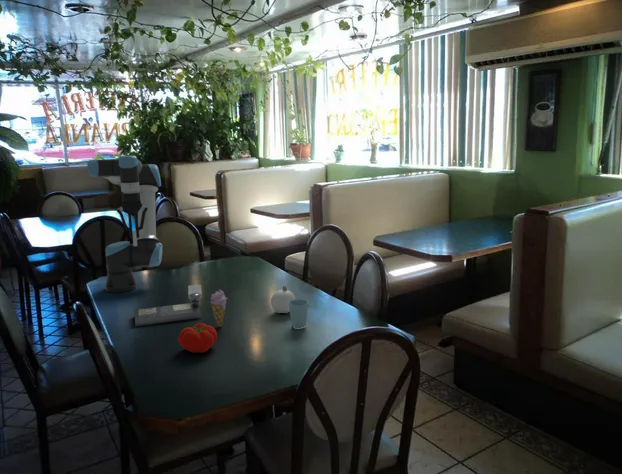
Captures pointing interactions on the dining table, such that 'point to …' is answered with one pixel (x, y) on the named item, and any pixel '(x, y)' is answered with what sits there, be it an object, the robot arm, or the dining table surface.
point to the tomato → (197, 338)
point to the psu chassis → (167, 313)
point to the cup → (298, 312)
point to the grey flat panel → (194, 292)
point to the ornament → (282, 300)
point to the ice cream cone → (218, 306)
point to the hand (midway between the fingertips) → (135, 245)
